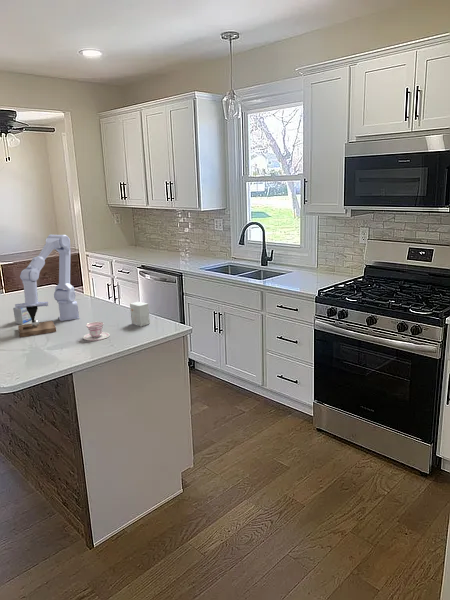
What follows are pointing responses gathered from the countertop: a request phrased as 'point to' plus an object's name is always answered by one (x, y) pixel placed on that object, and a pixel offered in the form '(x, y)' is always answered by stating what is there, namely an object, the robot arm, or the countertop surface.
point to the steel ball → (35, 323)
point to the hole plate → (36, 329)
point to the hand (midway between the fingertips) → (33, 322)
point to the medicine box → (21, 315)
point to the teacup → (95, 331)
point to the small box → (139, 313)
